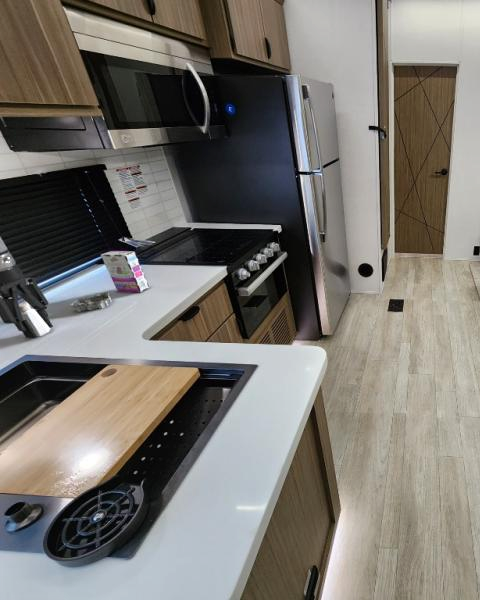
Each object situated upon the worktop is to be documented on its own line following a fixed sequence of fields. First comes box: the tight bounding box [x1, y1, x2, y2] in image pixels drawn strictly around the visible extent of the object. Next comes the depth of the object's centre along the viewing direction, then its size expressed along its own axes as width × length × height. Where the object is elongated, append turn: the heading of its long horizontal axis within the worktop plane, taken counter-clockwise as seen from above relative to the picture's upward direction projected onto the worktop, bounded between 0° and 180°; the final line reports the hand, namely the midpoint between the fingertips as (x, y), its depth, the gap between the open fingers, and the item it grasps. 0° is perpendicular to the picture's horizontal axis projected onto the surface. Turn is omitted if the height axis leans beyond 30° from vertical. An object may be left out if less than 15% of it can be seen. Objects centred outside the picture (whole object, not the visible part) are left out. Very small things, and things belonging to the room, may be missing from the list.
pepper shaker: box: [18, 302, 51, 337], centre depth 108 cm, size 5×5×11 cm
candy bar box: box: [100, 250, 150, 293], centre depth 135 cm, size 11×5×16 cm, turn 83°
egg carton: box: [69, 291, 113, 313], centre depth 126 cm, size 11×8×4 cm
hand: (40, 332), depth 110 cm, fingers closed on pepper shaker, 5 cm apart
